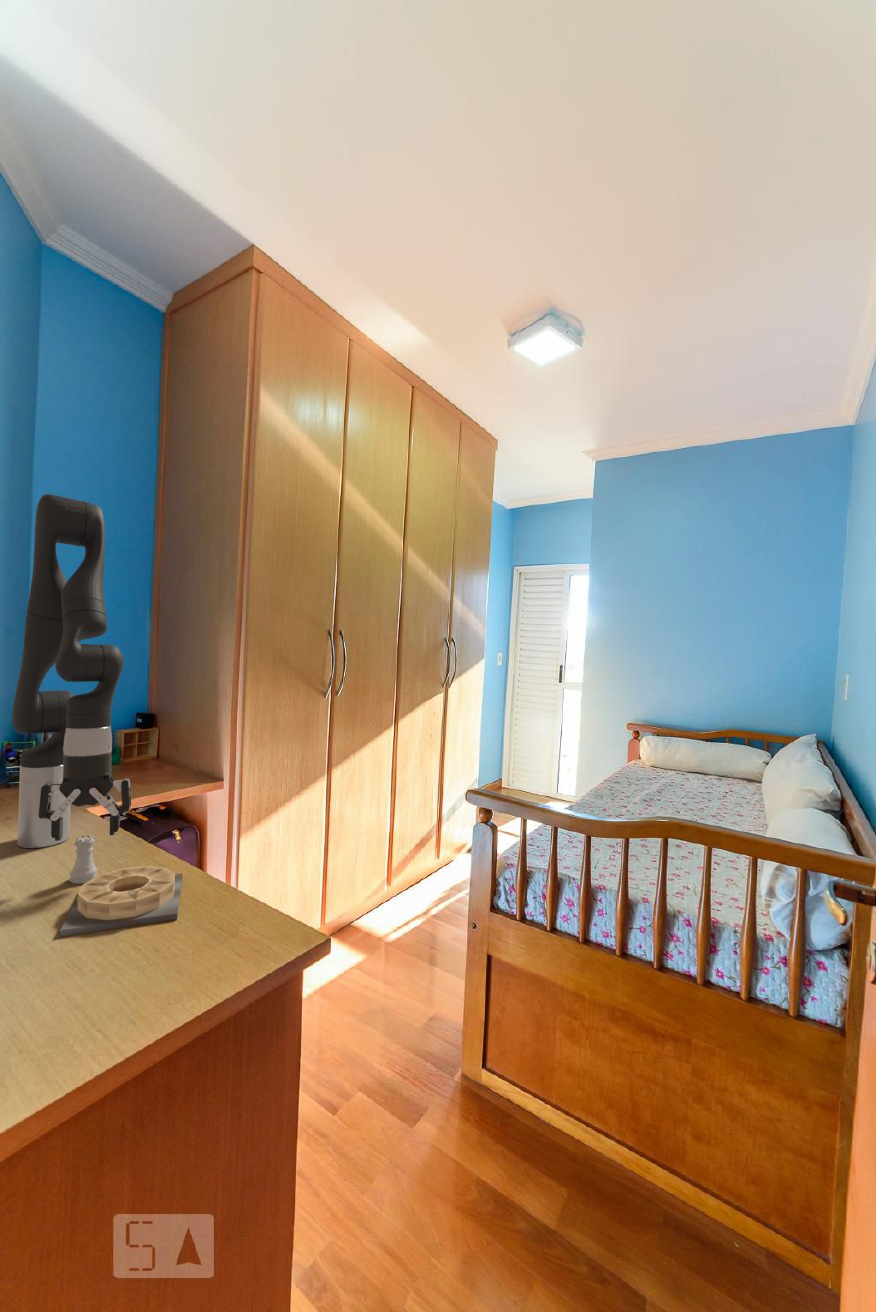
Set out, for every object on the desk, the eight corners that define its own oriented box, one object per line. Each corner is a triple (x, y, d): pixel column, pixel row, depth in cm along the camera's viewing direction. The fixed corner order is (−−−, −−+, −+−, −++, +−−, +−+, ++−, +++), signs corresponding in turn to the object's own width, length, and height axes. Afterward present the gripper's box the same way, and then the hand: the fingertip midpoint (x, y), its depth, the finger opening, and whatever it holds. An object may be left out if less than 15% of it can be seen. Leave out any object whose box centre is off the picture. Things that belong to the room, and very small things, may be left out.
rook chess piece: (83, 886, 96) (84, 842, 96) (62, 883, 97) (64, 840, 97) (103, 876, 100) (104, 834, 100) (83, 873, 101) (85, 832, 101)
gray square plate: (83, 890, 94) (84, 870, 94) (182, 878, 101) (183, 859, 101) (59, 936, 80) (60, 913, 80) (177, 919, 86) (177, 897, 86)
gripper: (134, 745, 104) (132, 826, 104) (47, 748, 99) (45, 834, 99) (129, 752, 97) (126, 839, 98) (35, 756, 92) (33, 848, 92)
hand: (86, 836), depth 98 cm, fingers open, 8 cm apart
